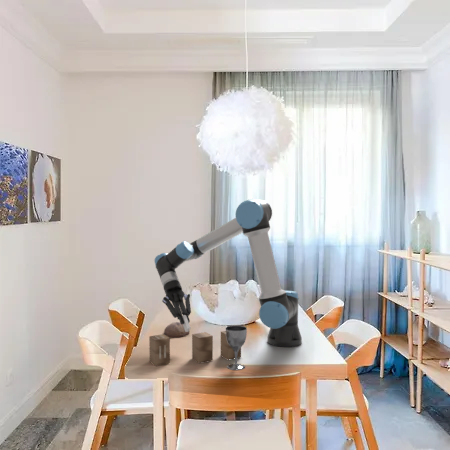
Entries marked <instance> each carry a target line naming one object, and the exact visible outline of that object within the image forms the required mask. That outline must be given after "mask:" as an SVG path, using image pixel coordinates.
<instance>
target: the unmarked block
mask: <svg viewBox="0 0 450 450" xmlns="http://www.w3.org/2000/svg"><path fill="white" fill-rule="evenodd" d="M191 336H192V337H191V338H192V339H191V348H192V349H191V359H192V360H193V361H195V362H196V361H197V362H196V363H198V364H202V363H201V362H204V363H207V361H209V362H212V361H211V360H214V359H213V357H214V356H213V352H214V351H213V349H214V347H213V344H214V343H213V342H214V341H213V340H214V339H213V335H212V334H210V333H208V332H206V331H204V332H197V333H192V334H191Z"/></svg>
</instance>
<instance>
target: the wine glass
mask: <svg viewBox="0 0 450 450" xmlns="http://www.w3.org/2000/svg"><path fill="white" fill-rule="evenodd" d="M225 331H226V339H227V342H228V344H229V345H230V347H231V348H232V349H233V351H234V354H235V359H234V363H229V364H230V365H229V364H227V365H226V368H227V370H230V371H231V370H232V371H242V370H244V369H246V365H244V364H243V365H241V364H242V363H238V358H237V355H238V351H239V349H240V348H241V349H242V347H243V346H244V345H245V343H246V340H247V332H248V331H247V326H244V325H239V324H234V325H232V324H231V325H227V326H225Z"/></svg>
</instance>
